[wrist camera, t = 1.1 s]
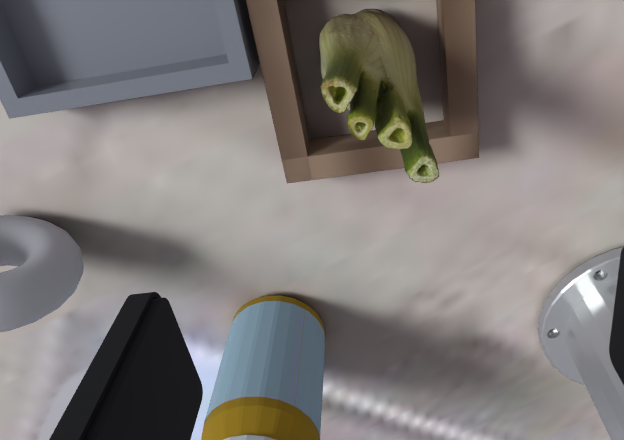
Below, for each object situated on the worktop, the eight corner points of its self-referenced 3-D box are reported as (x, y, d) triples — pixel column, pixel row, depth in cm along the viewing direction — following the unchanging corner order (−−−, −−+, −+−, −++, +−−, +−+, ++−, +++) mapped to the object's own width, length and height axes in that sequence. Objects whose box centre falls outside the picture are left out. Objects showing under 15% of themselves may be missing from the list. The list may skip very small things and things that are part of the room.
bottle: (259, 275, 39) (214, 463, 26) (343, 316, 40) (340, 514, 27) (218, 336, 42) (160, 531, 29) (297, 372, 44) (275, 572, 31)
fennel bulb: (423, 87, 31) (460, 181, 21) (343, 116, 32) (340, 219, 22) (392, -15, 29) (416, 36, 18) (305, 21, 30) (282, 88, 19)
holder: (462, -86, 27) (472, -85, 25) (470, 140, 33) (478, 157, 30) (245, -44, 28) (237, -39, 26) (290, 165, 34) (287, 183, 32)
